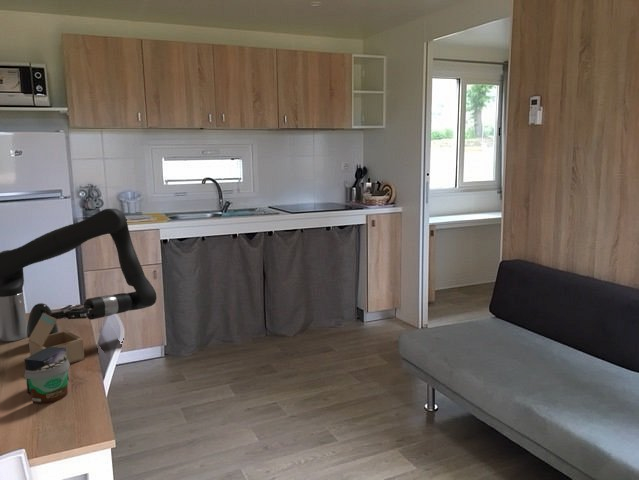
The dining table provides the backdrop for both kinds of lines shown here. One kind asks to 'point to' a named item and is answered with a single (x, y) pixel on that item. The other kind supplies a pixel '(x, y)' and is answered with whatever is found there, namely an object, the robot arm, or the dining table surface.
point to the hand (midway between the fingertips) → (50, 316)
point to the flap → (42, 329)
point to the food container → (48, 382)
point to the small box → (44, 359)
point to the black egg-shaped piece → (35, 317)
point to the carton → (62, 345)
